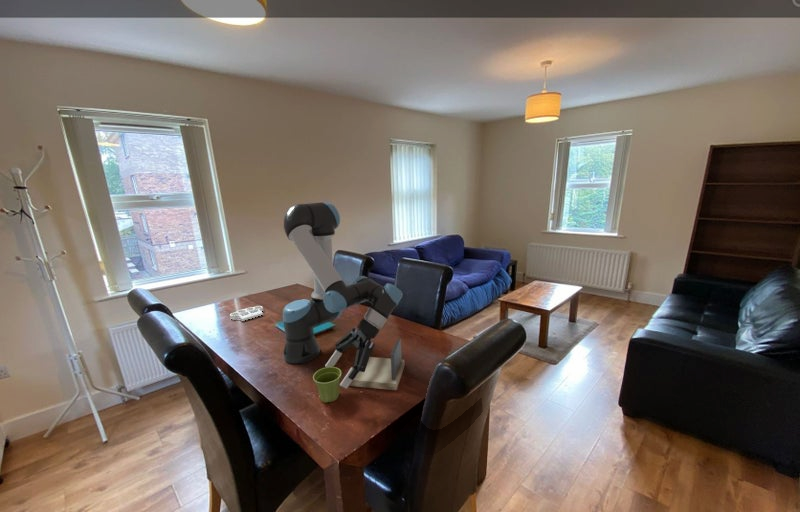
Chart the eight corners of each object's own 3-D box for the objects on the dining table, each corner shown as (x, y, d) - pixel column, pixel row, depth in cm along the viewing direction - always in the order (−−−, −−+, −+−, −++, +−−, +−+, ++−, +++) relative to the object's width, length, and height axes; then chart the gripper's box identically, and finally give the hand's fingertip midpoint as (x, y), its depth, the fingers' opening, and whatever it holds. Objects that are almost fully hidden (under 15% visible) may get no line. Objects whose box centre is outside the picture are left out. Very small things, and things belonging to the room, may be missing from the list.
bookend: (391, 380, 110) (390, 354, 108) (398, 361, 122) (397, 338, 120) (395, 380, 110) (393, 354, 108) (401, 362, 121) (400, 338, 119)
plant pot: (329, 410, 100) (327, 386, 98) (309, 400, 105) (307, 377, 103) (349, 393, 107) (347, 371, 106) (329, 385, 112) (327, 364, 111)
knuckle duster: (236, 325, 169) (227, 318, 179) (268, 315, 181) (259, 309, 191) (235, 319, 168) (226, 312, 178) (268, 309, 180) (258, 303, 191)
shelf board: (347, 385, 112) (347, 379, 111) (361, 361, 127) (361, 356, 127) (396, 390, 108) (396, 383, 108) (404, 365, 124) (404, 359, 123)
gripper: (397, 341, 101) (359, 400, 96) (363, 317, 122) (330, 364, 117) (382, 331, 97) (341, 391, 92) (349, 308, 118) (315, 356, 113)
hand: (335, 376), depth 105 cm, fingers open, 13 cm apart
